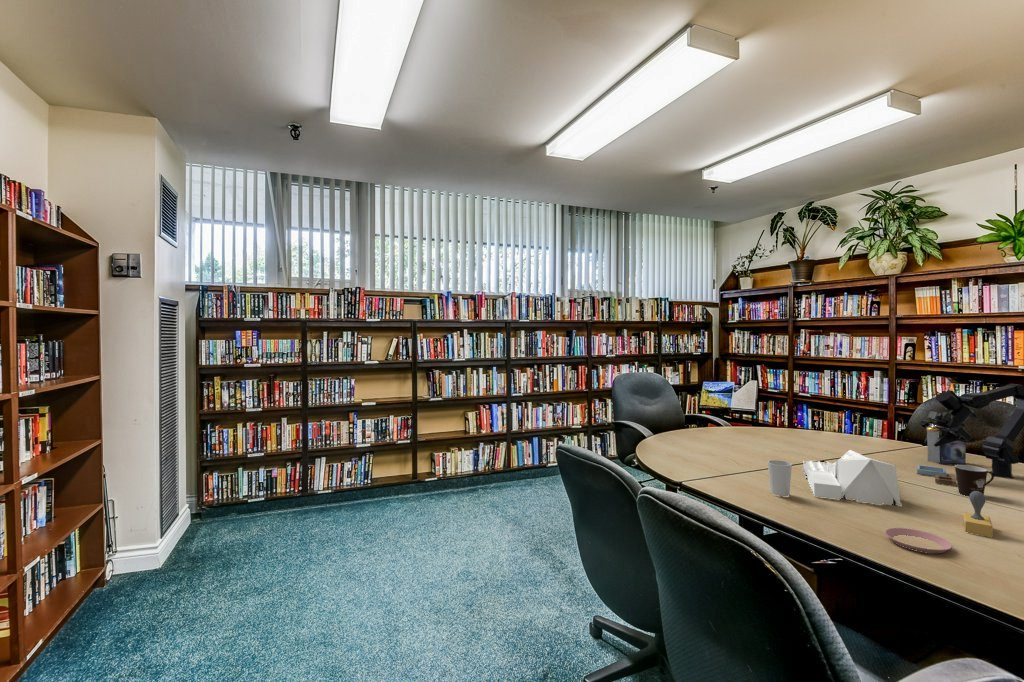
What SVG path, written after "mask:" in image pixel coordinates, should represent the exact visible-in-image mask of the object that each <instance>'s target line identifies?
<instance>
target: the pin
mask: <svg viewBox="0 0 1024 682" xmlns="http://www.w3.org/2000/svg"><path fill="white" fill-rule="evenodd" d="M939 435H940V431H939V428H937V427H927V431H926V436H927V444H926V445H927V448H926V449H927V462H930V463H935V464H938V462H940V451H939V446H937V447H935V446H934V444H935V442H936V441H937V440H938V439H939Z"/></svg>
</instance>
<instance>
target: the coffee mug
mask: <svg viewBox="0 0 1024 682" xmlns="http://www.w3.org/2000/svg"><path fill="white" fill-rule="evenodd" d="M954 469H955V478H956V484H957V490H958V494H959V493H960V495H961V494H962V495H961V496H964V495H965V497H967V496H970V493H971V492H973V491H979V492H981V493H982V494H984V495H985V490H986V486H987V485H989V484H990V483H991V482H993V480H994V478H995V476H994V475H993V473H992V472H990V470H989V471H988V469H986V468H985V467H981V466H975V465H969V464H967V465H954ZM988 474H990V476H991V477H990V479H989V480H988V481H987V477H988Z"/></svg>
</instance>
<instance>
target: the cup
mask: <svg viewBox="0 0 1024 682" xmlns="http://www.w3.org/2000/svg"><path fill="white" fill-rule="evenodd" d="M767 469H768V477H769V488H770V491H769V493H770V492H771V493H772V494H775V495H779V496H788V495H790V496H791V493H790V492H791V483H792V481H791V479H792V469H793V463H792V462H790V461H786V460H779V459H769V460H768V461H767Z"/></svg>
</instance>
